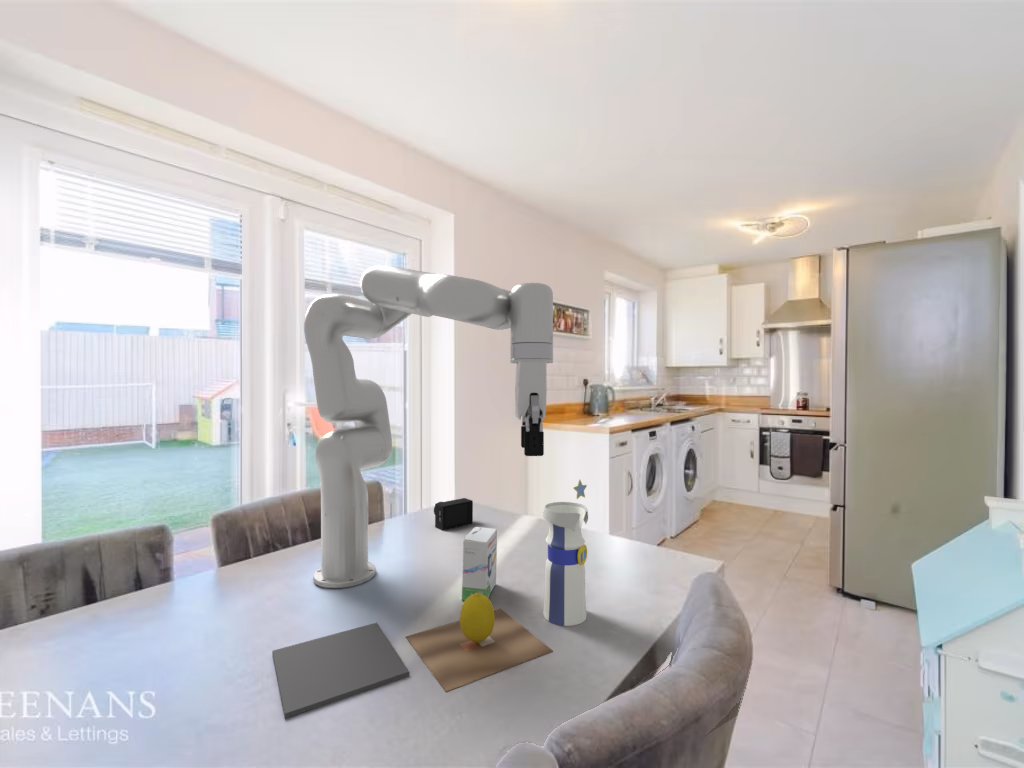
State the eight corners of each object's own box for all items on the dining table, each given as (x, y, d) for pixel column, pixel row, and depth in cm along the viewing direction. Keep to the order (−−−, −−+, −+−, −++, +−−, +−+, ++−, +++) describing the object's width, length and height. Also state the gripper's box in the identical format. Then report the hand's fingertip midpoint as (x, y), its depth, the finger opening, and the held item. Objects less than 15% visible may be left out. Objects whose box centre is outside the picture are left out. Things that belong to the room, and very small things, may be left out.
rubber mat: (272, 654, 72) (272, 650, 72) (376, 625, 80) (376, 622, 80) (284, 718, 58) (284, 713, 58) (409, 675, 67) (409, 671, 67)
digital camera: (462, 519, 142) (462, 496, 142) (473, 523, 138) (473, 500, 138) (432, 526, 136) (432, 502, 136) (442, 531, 131) (442, 506, 131)
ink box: (473, 582, 98) (473, 525, 98) (497, 584, 97) (497, 527, 97) (460, 601, 89) (460, 539, 89) (487, 603, 88) (487, 541, 88)
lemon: (453, 648, 73) (453, 597, 73) (469, 631, 78) (469, 583, 78) (485, 656, 71) (485, 603, 71) (500, 637, 76) (500, 588, 76)
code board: (405, 637, 77) (405, 636, 77) (500, 609, 86) (500, 608, 86) (445, 692, 63) (445, 690, 63) (552, 651, 73) (552, 650, 73)
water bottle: (596, 610, 86) (596, 473, 86) (578, 631, 78) (578, 482, 78) (555, 599, 90) (555, 469, 90) (534, 618, 83) (534, 477, 82)
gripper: (509, 357, 91) (509, 445, 91) (512, 351, 74) (512, 459, 74) (547, 357, 92) (547, 444, 92) (559, 351, 74) (559, 459, 74)
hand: (531, 451), depth 83 cm, fingers open, 9 cm apart
